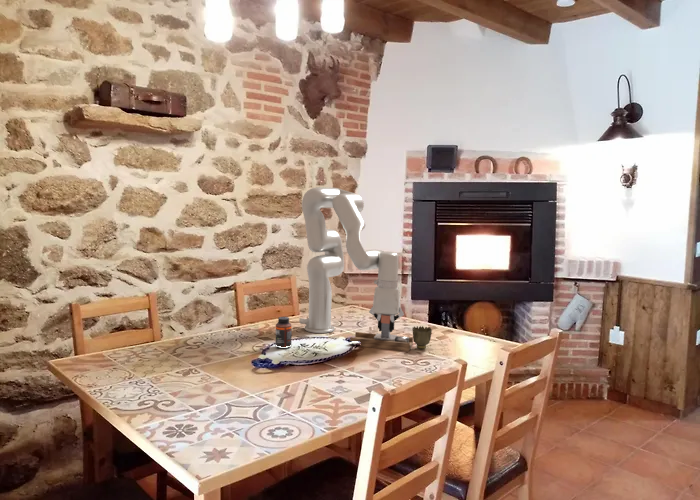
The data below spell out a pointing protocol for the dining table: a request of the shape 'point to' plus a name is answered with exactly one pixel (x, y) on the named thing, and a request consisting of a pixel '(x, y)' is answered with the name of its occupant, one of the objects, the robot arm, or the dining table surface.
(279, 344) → the supplement bottle
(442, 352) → the dining table surface
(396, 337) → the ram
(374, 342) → the board
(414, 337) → the cup
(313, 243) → the robot arm
